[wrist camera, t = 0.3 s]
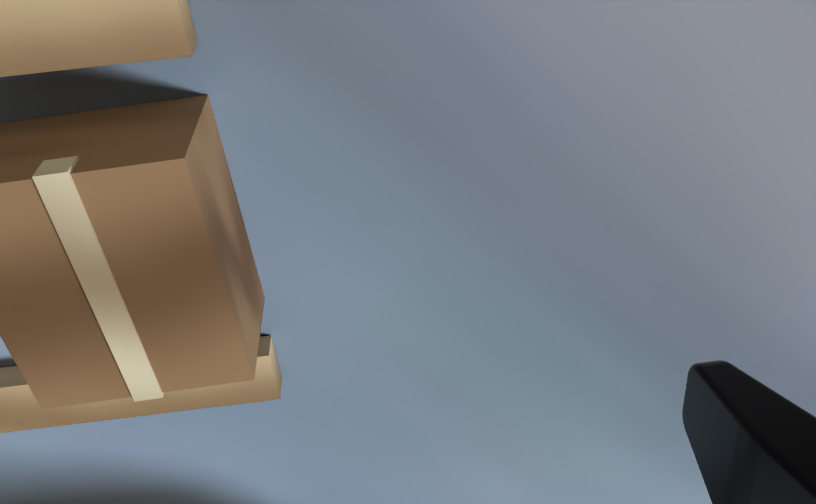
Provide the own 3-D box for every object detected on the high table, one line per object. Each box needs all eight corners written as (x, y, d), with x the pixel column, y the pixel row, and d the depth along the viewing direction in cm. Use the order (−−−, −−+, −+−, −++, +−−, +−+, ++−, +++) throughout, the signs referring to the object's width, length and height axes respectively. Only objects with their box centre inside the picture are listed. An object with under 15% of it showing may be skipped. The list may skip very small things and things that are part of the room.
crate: (265, 295, 24) (254, 384, 20) (83, 321, 24) (41, 414, 20) (207, 88, 20) (182, 156, 16) (-13, 117, 20) (-84, 192, 16)
